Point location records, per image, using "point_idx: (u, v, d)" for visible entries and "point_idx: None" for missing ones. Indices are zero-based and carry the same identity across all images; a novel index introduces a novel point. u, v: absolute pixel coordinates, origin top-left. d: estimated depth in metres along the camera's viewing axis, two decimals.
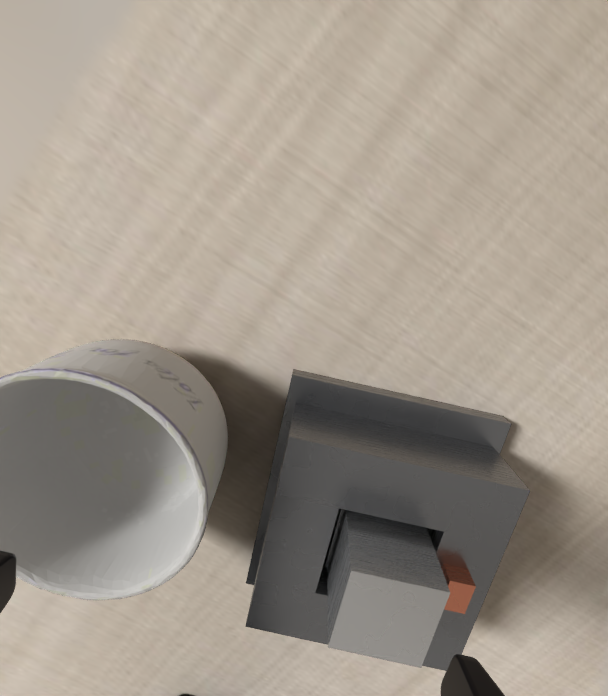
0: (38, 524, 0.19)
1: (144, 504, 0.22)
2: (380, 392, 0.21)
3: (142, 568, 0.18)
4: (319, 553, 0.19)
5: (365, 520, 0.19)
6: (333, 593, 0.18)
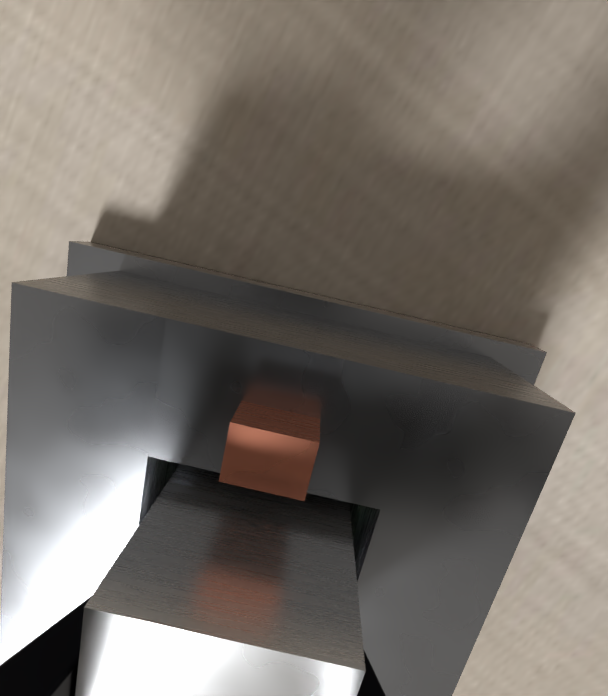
0: None
1: None
2: None
3: None
4: None
5: None
6: None
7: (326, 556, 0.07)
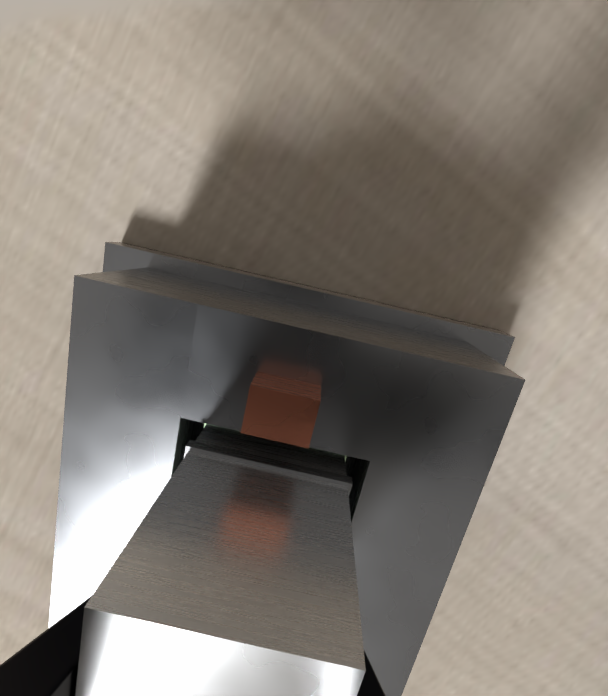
0: None
1: None
2: None
3: None
4: None
5: None
6: None
7: (327, 556, 0.07)
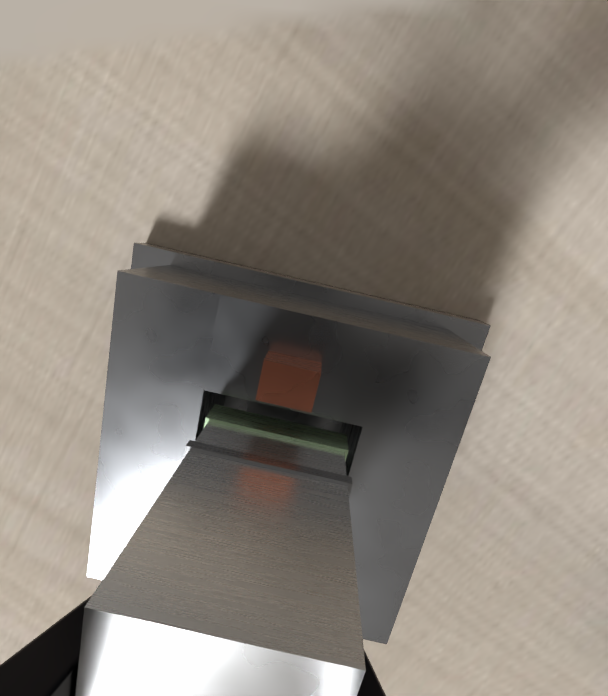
0: None
1: None
2: None
3: None
4: None
5: None
6: None
7: (327, 556, 0.07)
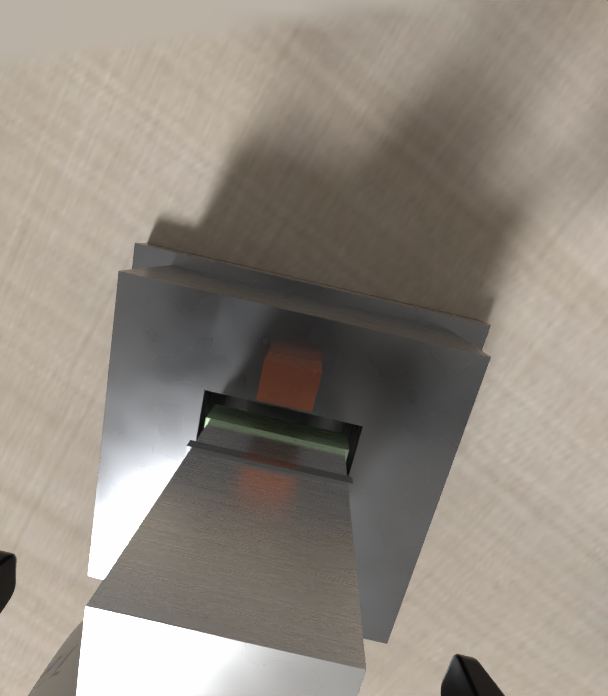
0: None
1: None
2: None
3: None
4: None
5: None
6: None
7: (327, 556, 0.07)
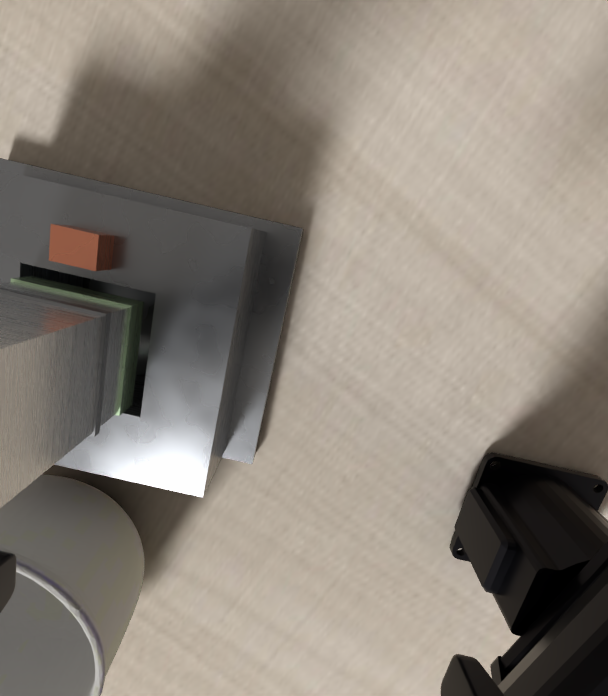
0: (87, 677, 0.19)
1: None
2: None
3: None
4: None
5: None
6: None
7: (26, 328, 0.10)
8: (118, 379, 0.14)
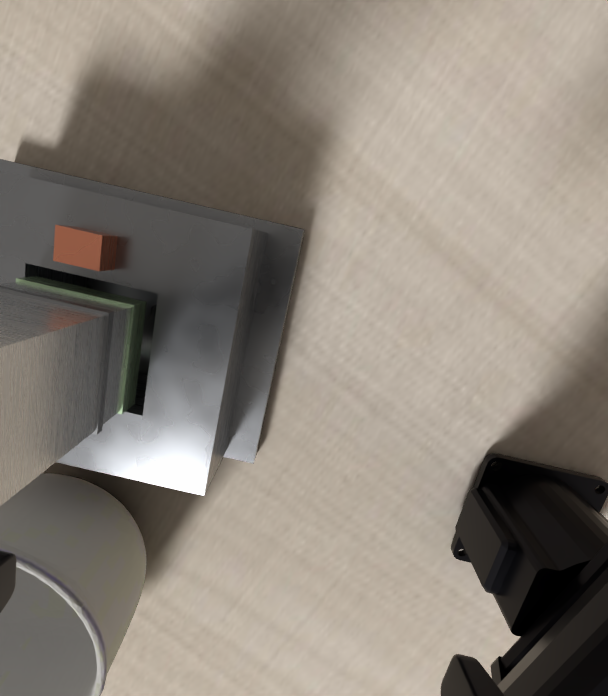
0: (89, 674, 0.19)
1: None
2: None
3: None
4: None
5: None
6: None
7: (30, 326, 0.10)
8: (121, 378, 0.14)
